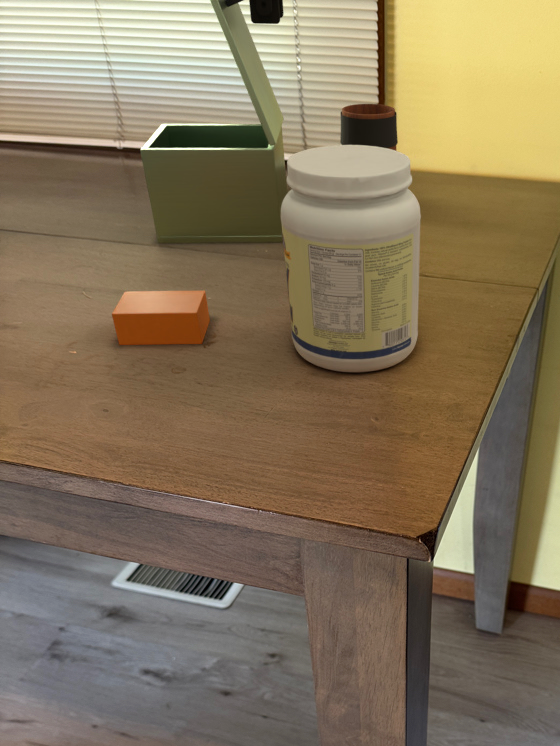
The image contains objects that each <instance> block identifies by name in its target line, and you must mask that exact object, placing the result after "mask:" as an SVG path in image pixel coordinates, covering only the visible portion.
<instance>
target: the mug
mask: <svg viewBox="0 0 560 746" xmlns="http://www.w3.org/2000/svg"><path fill="white" fill-rule="evenodd" d="M397 117H398V116H397V112H396V109H395V108H394V107H393V106H390V105H385V104H379V103H357V104H350V105H349V104H348V105H346V106H343V107H342V108H341V111H340V140H339V141H340V143H339V144H340V145H366V146H376V147H382V148H387V149H392V150H395V151H397V145H398V143H399V142H398V126H397V125H398V124H397V123H398V121H397Z"/></svg>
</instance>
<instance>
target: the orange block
mask: <svg viewBox="0 0 560 746" xmlns="http://www.w3.org/2000/svg"><path fill="white" fill-rule="evenodd" d="M111 317H112V322H113V326H114V329H115V334H116V337H117V342H118V345H119V346H144V345H145V346H146V345H147V346H149V345H151V346H152V345H202V344H203V342H204V339H205V337H206V333H207V330H208V328H209V325H210V322H211V317H210V313H209V306H208V300H207V294H206V290H138V291H137V290H133V291H127V290H125V291H124V292H123V294H122V295H121V297H120V299H119V301H118V302H117V304H116V306H115V307H114V309H113V311H112V312H111Z"/></svg>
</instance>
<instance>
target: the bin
mask: <svg viewBox="0 0 560 746" xmlns="http://www.w3.org/2000/svg"><path fill="white" fill-rule="evenodd" d="M282 126H283V125H282ZM282 126H281V129H280V133H279V136H278V139H277V142H276V144H275V145H272V146H270V145H269V142H268V140H267V137H266V135H265V133H264V130H263V128H262V125H261V123H161V124H160V125H159V127H158V128H157V129H156V130H155V132H154V133H153V134H152V135H151V136H150V137H149V139H148V140H146V142H145V143H144V144H143V145H142V147H141V148H140V149H139V151H140V157H141V162H142V167H143V173H144V177H145V182H146V188H147V193H148V199H149V202H150V208H151V213H152V218H153V224H154V228H155V229H154V230H155V233H156V239H157V243H158V244H219V243H220V244H222V243H223V244H228V243H229V244H234V243H236V244H238V243H242V244H243V243H248V244H249V243H250V244H251V243H283V233H282V223H281V206H282V202H283V200H284V198H285V196H286V195H287V194H288V184H287V172H286V162H285V150H284V138H283V127H282Z"/></svg>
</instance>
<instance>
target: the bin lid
mask: <svg viewBox="0 0 560 746" xmlns="http://www.w3.org/2000/svg"><path fill="white" fill-rule="evenodd" d="M209 2H210V5H211V7H212V9H213V12H214V13H215V16H216V19H217V22H218V24H219V27H220V28H221V32H222V33H223V36H224V38H225V41H226V43H227V45H228V48H229V50H230V53H231V55H232V58H233V60H234V63H235V64H236V67H237V70H238V73H239V74H240V77H241V79H242V82H243V84H244V87H245V89H246V91H247V94H248V96H249V99H250V101H251V103H252V107H253V108H254V111H255V113H256V115H257V118H258V120H259V124H261V125H262V128H263V130H264V133H265V135H266V137H267V140H268V142H269V145H270V146H272V145H275V144H276V142H277V139H278V136H279V133H280V129H281V126H283V123H284V118H285V117H284V115H283V112H282V111H281V108H280V105H279V103H278V101H277V97H276V95H275V92H274V90H273V87H272V85H271V83H270V80H269V77H268V75H267V72H266V70H265V67H264V65H263V62H262V60H261V57H260V54H259V52H258V49H257V47H256V45H255V42H254V39H253V37H252V34H251V31H250V29H249V27H248V23H247V21H246V19H245V17H244V14H243V12H242V9H241V7H240V4H239V3H241V2H244V0H209Z"/></svg>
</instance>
